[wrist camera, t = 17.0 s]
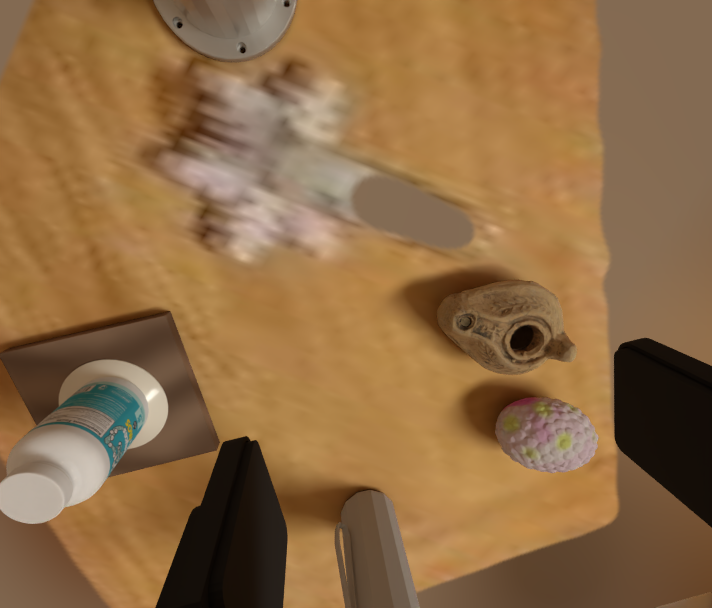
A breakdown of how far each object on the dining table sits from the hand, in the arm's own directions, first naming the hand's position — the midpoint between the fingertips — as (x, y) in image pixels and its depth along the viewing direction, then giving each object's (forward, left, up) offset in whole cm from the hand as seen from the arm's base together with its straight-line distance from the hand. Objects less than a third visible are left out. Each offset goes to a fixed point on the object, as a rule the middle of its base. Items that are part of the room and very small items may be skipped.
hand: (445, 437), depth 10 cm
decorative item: (+27, +19, -34) cm, 47 cm away
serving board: (+11, -28, -33) cm, 45 cm away
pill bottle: (+11, -28, -32) cm, 44 cm away
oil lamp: (+12, +15, -34) cm, 39 cm away
